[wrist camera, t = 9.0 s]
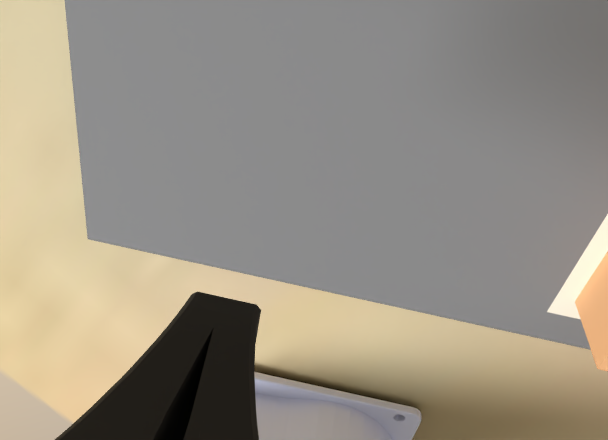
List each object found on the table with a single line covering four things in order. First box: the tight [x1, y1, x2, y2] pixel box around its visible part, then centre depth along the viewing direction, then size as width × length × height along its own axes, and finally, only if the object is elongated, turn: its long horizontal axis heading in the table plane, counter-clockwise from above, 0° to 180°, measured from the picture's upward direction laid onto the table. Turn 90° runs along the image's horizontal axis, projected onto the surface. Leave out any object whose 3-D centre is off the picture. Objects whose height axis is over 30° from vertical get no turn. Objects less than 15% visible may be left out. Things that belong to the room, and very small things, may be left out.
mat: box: [65, 0, 608, 350], centre depth 17 cm, size 31×14×1 cm, turn 81°
